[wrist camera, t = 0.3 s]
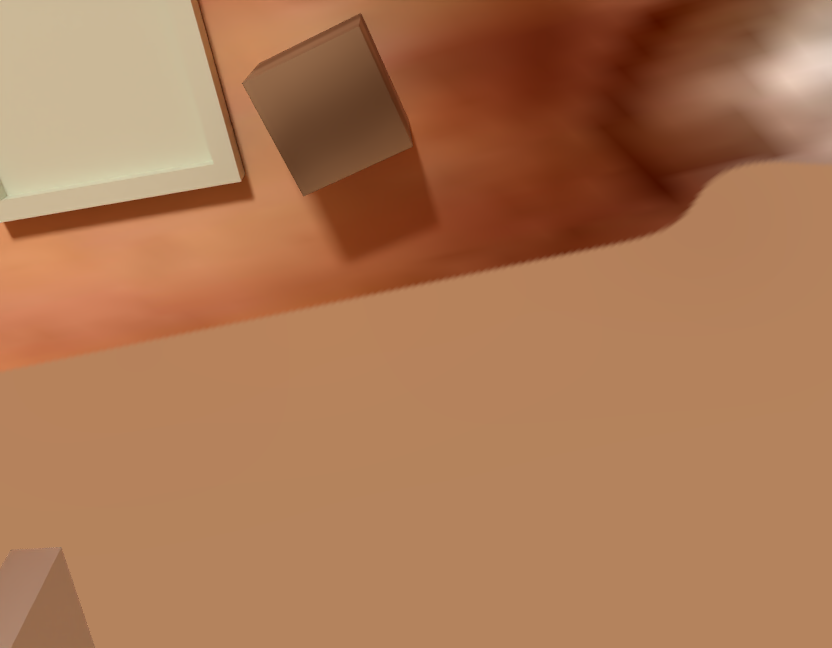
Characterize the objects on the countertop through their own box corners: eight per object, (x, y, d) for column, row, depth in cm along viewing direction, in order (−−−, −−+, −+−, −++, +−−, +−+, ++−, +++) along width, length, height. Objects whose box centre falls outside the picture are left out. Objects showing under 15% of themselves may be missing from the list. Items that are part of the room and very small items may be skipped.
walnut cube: (259, 62, 33) (242, 83, 29) (361, 13, 32) (358, 26, 28) (312, 163, 35) (303, 196, 31) (408, 118, 35) (413, 146, 30)
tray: (-125, -63, 30) (-143, -63, 29) (165, -116, 30) (157, -118, 29) (0, 215, 36) (-12, 224, 35) (244, 174, 35) (241, 181, 34)
